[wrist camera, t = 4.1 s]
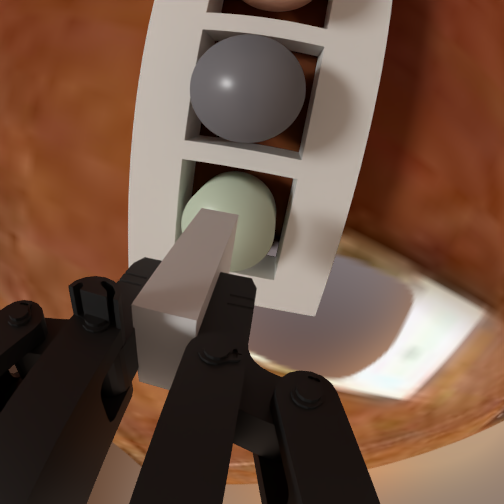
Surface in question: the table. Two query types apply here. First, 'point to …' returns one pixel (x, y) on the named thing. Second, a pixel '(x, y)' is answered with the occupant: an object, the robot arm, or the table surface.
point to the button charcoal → (247, 88)
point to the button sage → (239, 213)
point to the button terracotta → (277, 4)
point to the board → (255, 155)
